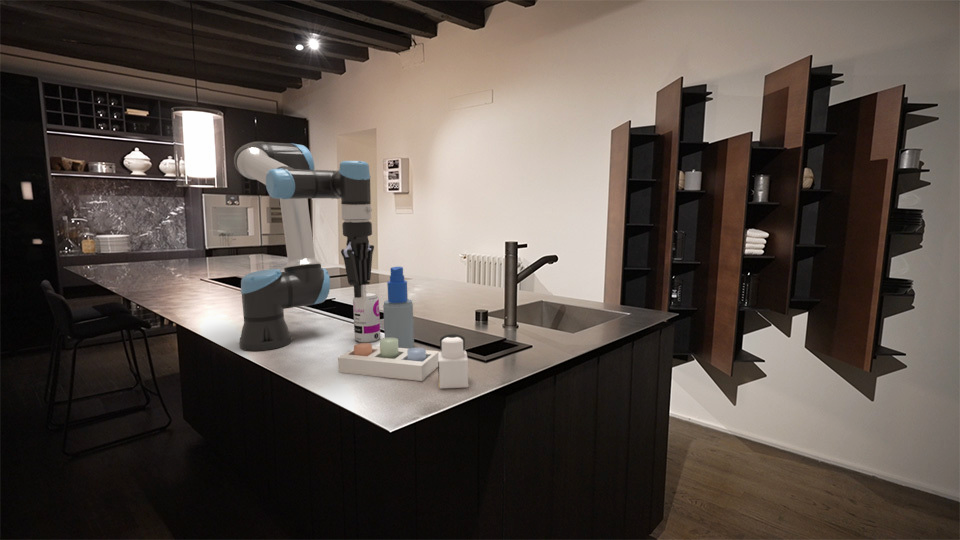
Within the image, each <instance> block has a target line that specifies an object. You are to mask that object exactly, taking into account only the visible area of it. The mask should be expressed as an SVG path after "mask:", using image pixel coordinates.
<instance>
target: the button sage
mask: <svg viewBox="0 0 960 540" xmlns="http://www.w3.org/2000/svg"><path fill="white" fill-rule="evenodd" d="M379 346H380V358H390V359H395V358H397V357H398V356H399V354H398V339H397V338H385V337H384V338H381V339H380V340H379Z"/></svg>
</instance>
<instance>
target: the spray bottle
mask: <svg viewBox="0 0 960 540" xmlns="http://www.w3.org/2000/svg"><path fill="white" fill-rule="evenodd" d="M386 284H387V285H386V286H387V299H386V300H384V301H383V328H384V330H383V331H384V338H397V339H398V348H407V349H411V348H415V336H414V332H415V331H414V308H413V307H414V303H413V300H411V299H410V298H409V299H408V280H405V275H404V266H393V267H392V266H391V267H390V275H389V280H388V281H387V282H386Z"/></svg>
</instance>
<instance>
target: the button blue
mask: <svg viewBox="0 0 960 540" xmlns="http://www.w3.org/2000/svg"><path fill="white" fill-rule="evenodd" d="M426 350H427V349H426V348H423V347H414V348H411V349H408V350H407V354H408V360H411V361H421V362H423V361H424V360H425V359H426Z"/></svg>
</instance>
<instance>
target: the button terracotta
mask: <svg viewBox="0 0 960 540" xmlns="http://www.w3.org/2000/svg"><path fill="white" fill-rule="evenodd" d="M372 345H373V344H372V343H371V342H367V343H363V342H358V343H357V344H354V345H353V349H354V355H359V356H369V355H370V354H372Z"/></svg>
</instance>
